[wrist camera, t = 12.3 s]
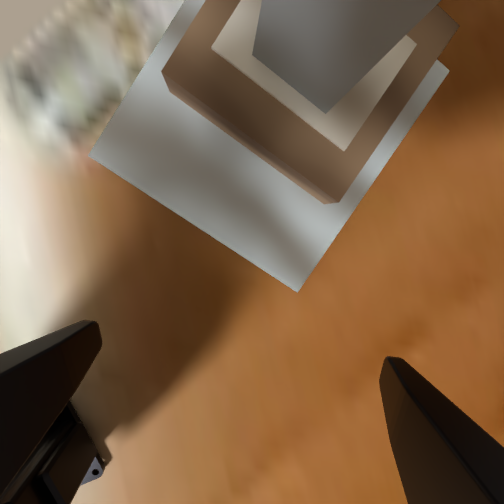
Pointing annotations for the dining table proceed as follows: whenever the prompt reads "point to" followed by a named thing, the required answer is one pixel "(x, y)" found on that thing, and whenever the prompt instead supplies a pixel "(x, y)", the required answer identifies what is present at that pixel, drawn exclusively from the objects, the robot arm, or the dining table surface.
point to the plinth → (232, 171)
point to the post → (331, 41)
